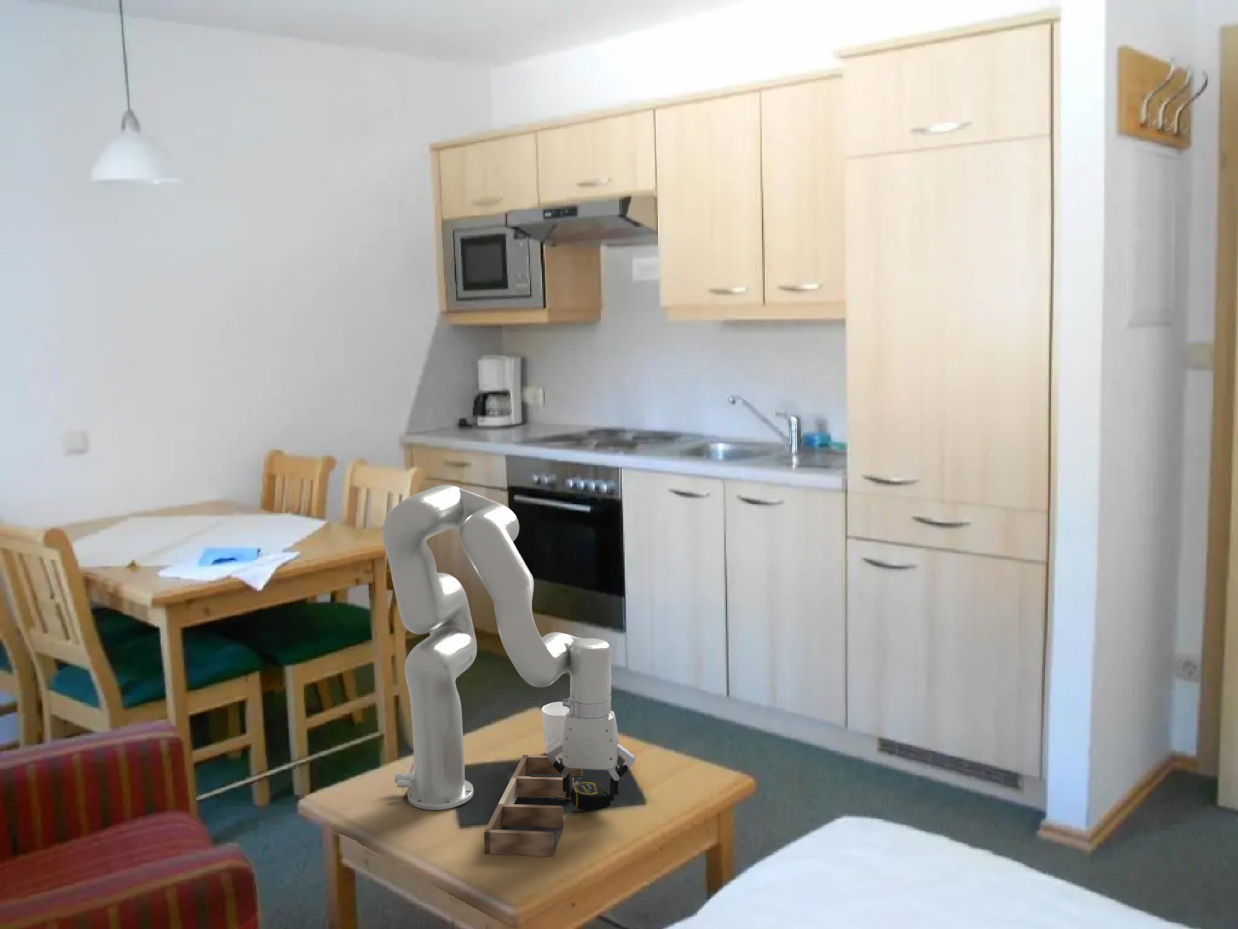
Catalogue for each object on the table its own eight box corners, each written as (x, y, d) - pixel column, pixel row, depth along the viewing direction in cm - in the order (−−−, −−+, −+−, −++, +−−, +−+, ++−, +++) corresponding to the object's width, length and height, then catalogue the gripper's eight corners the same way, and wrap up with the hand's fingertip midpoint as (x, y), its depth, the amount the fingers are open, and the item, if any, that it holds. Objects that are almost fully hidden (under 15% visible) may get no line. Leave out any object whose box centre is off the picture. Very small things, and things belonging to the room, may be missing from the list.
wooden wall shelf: (484, 853, 198) (483, 832, 198) (523, 773, 231) (523, 755, 230) (552, 856, 197) (551, 834, 196) (582, 775, 229) (581, 756, 229)
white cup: (539, 749, 243) (537, 704, 241) (575, 744, 245) (573, 699, 244) (548, 763, 235) (546, 717, 234) (585, 758, 238) (583, 712, 236)
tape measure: (611, 813, 211) (612, 794, 210) (575, 817, 209) (576, 798, 208) (601, 796, 217) (602, 778, 217) (566, 800, 215) (567, 782, 215)
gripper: (540, 711, 207) (541, 803, 210) (635, 716, 205) (635, 808, 207) (547, 697, 214) (548, 785, 217) (640, 701, 212) (639, 790, 215)
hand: (591, 796), depth 212 cm, fingers closed on tape measure, 7 cm apart
